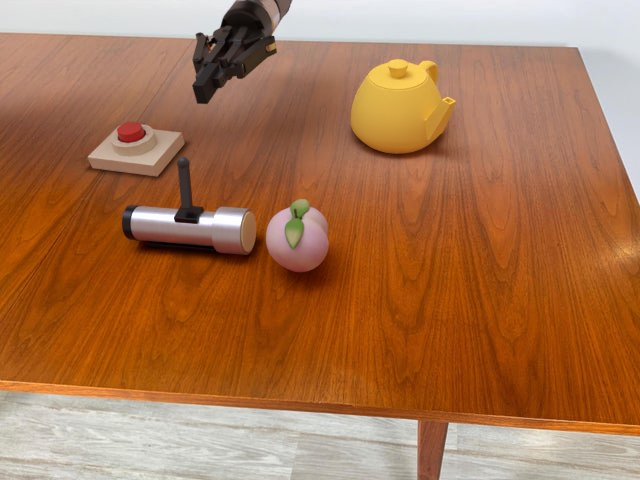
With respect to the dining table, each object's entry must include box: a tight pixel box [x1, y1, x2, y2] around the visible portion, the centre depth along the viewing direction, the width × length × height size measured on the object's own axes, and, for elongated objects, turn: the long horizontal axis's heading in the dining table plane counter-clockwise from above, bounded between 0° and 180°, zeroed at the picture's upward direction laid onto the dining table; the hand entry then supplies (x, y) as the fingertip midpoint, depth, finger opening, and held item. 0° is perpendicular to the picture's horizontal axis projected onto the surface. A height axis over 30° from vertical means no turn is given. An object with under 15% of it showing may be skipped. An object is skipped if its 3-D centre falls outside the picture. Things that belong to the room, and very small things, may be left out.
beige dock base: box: [87, 123, 186, 177], centre depth 98 cm, size 12×10×4 cm
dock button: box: [116, 121, 145, 143], centre depth 96 cm, size 4×4×2 cm
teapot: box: [350, 58, 457, 155], centre depth 98 cm, size 20×19×13 cm
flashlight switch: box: [176, 156, 194, 208], centre depth 78 cm, size 2×2×7 cm
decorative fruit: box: [265, 198, 330, 273], centre depth 77 cm, size 9×8×10 cm
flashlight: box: [121, 204, 257, 256], centre depth 81 cm, size 17×6×6 cm, turn 82°
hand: (199, 94), depth 79 cm, fingers closed
